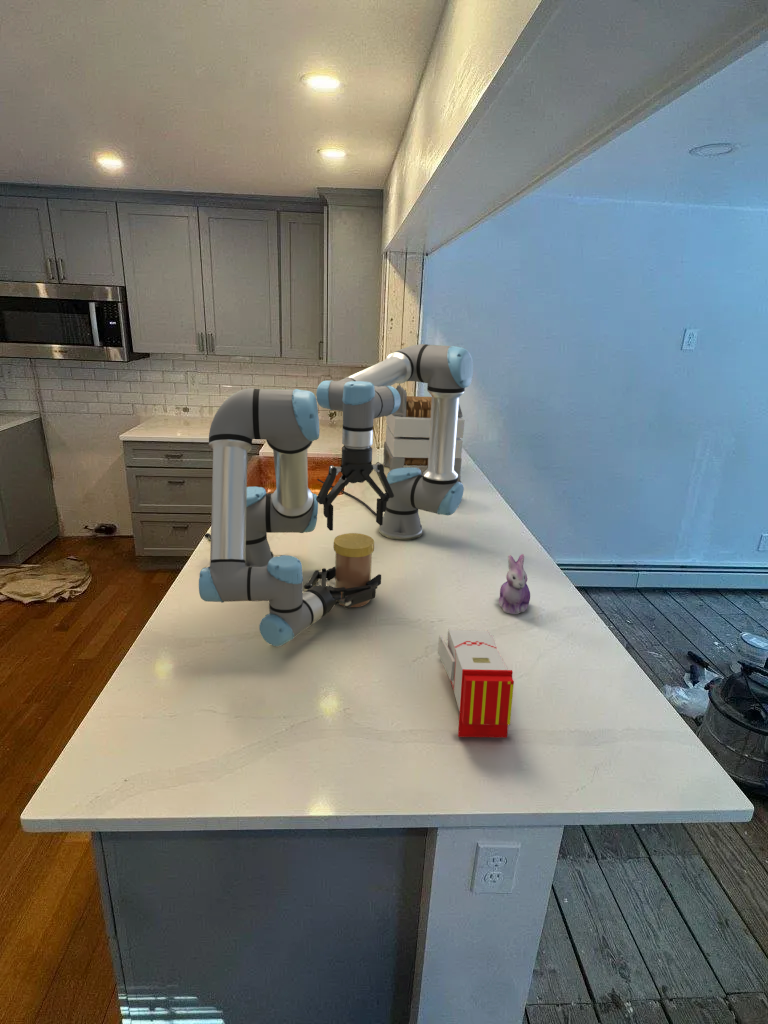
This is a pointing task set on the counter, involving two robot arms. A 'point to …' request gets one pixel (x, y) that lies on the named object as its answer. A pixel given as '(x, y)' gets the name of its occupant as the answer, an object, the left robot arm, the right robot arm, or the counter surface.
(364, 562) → the jar
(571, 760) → the counter surface
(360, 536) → the lid
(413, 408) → the white wooden crate
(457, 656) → the toy
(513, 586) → the figurine
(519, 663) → the counter surface
